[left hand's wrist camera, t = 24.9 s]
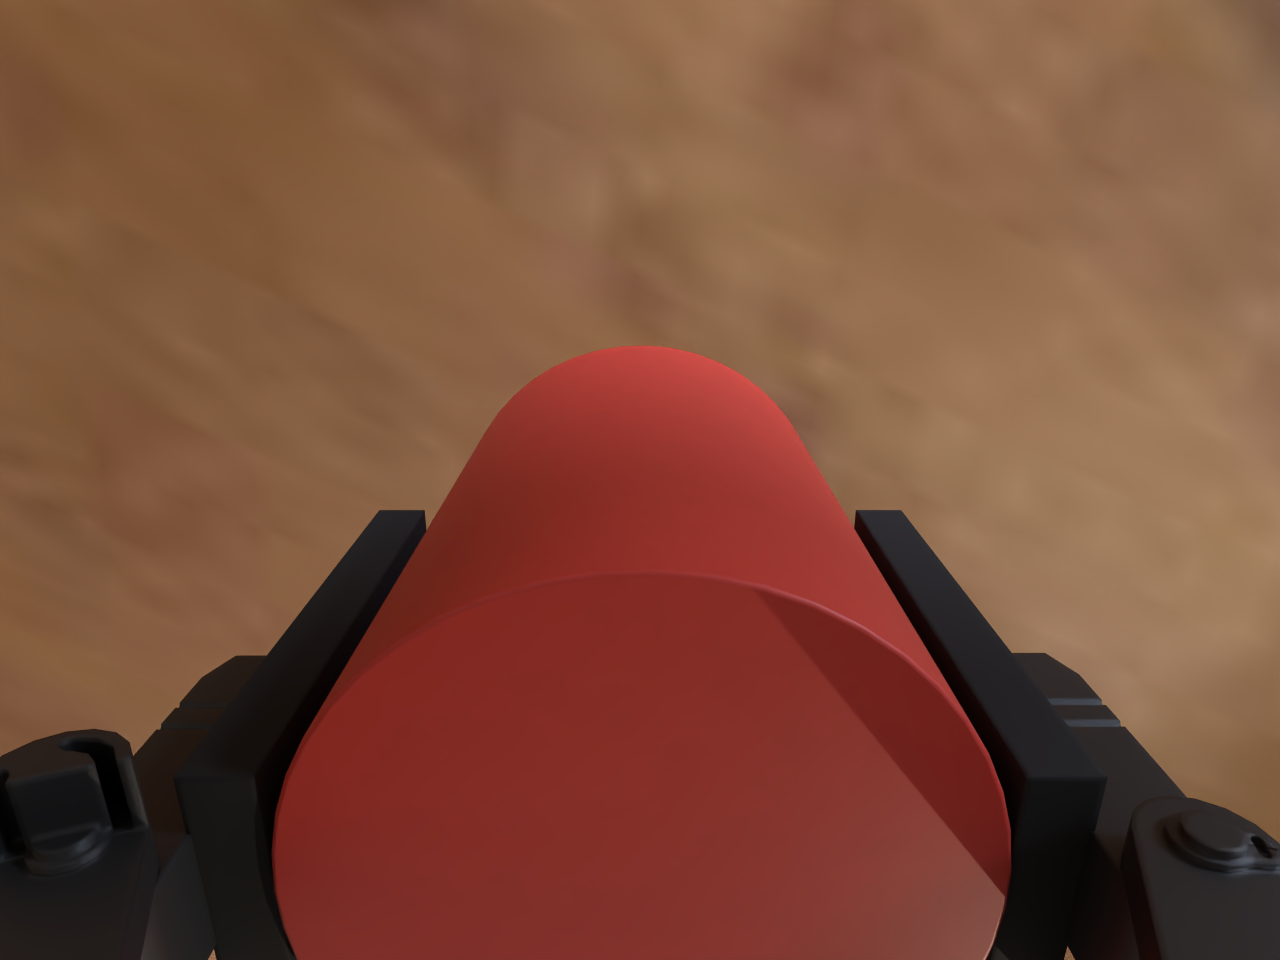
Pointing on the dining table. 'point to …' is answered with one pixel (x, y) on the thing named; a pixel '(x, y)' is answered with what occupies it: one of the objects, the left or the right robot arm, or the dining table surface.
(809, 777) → the can
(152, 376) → the dining table surface
